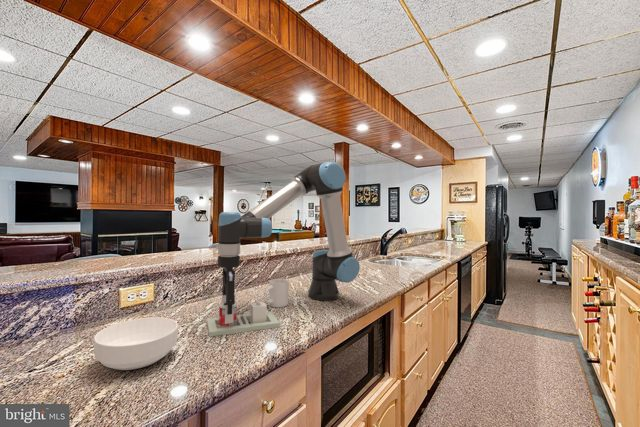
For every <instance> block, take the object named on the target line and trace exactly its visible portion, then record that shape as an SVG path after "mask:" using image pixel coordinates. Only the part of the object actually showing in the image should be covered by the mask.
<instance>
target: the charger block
mask: <svg viewBox="0 0 640 427" xmlns="http://www.w3.org/2000/svg"><path fill="white" fill-rule="evenodd" d="M267 307H268V306H267V303H265V302H264V301H259V302H251V303H250V305H249V314H250V320H249V322H250V323H249V324H255V323H263V322H267V312H268V311H267V310H268V309H267Z"/></svg>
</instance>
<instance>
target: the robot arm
mask: <svg viewBox="0 0 640 427" xmlns="http://www.w3.org/2000/svg"><path fill="white" fill-rule="evenodd" d="M346 177H347V176H346V171H345V170H344V168H343V166H342V165H340V164H339V163H337V162H335V161H326V162H321V163H318V164H312V165H310V166H308V167H306V168H304V169H303V170H302V171H300V172H299V173H298V174H296V175H295V176H293V177H292V178H291V179H290V182H289V183H287V184H286V185H284V186H282V187H281V188H280V189H279V190H277V191H275V192H274V193H273V194H271V195H270V196H268V197H266V199H264V200H263V201H261V202H260V203H259V204H257V205H255V206H254V207H253V208H251V209H249V210H248V211H247V212H246V213H243V215H242V214H241V213H240V212H237V211H236V212H233V211H232V212H231V211H222V212H220V214H219V216H218V224H217V226H218V235H217V236H218V237H217V238H218V240H217V241H218V242H217V244H218V245H216V250H217V254H218V256H217V266H218V268H222V271H221V273H222V275H221V276H222V288H221V289H222V291H221V293H222V296H223V295H226V303H224V305H225V324H227V323H233V314H234V304H235V302H236V295H235V292H236V291H235V284H236V283H235V281H236V280H235V277H236V273H235V272H236V271H235V270H234V268H237V267H239V266H240V264H241V262H240V261H241V257H240V255H241V239H253V238H254V239H263V238H268V237H270V236H271V235H272V233H273V223H272V221H271V218H272V217H273V216H274V215H276V214H278V212H279V211H281V210H283V209H284V208H285V207H287V206H288V205H289V204H290V203H292V202H294V201H295V200H296V199H298V198H300V196H302V197H303V196H305V195H307V194H309V193H310V192H314V191H315V195H316V196H317V197H318V198H319V199H320V201H321V202H320V203H321V207H322V214H323V220H324V226H325V227H324V228H325V232H326V233H325V234H326V237H327V242H328V243H327V244H328V249H320V250H314V251H313V253H312V266H311V267H312V268H311V269H312V270H311V272H312V275H311V277H312V278H311V284H310V286H309V289H308V293H307V296H308V297H309V298H310V299H311V300H315V301H324V302H325V301H333V300H337V299H339V297H340V292H339V288H338V284H337V281H339V282H340V283H345V284H346V283H351V282H353V281H355V280H356V278H357V276H358V275H359V273H360V268H361V266H360V262H359V260H358V259H357V258H356V257H354V255H353V249H351V248H350V247H349V244H348V239H347V233H346V232H347V231H346V225H345V221H344V220H345V219H344V214H343V207H342V201H341V194H342V193H343V186H344V185H345V183H346V179H347V178H346ZM230 300H232V301H230Z"/></svg>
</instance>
